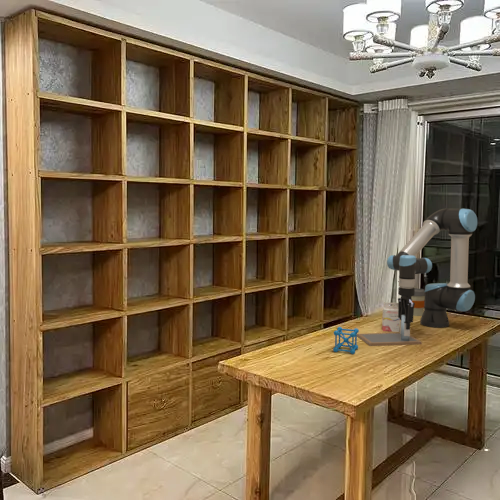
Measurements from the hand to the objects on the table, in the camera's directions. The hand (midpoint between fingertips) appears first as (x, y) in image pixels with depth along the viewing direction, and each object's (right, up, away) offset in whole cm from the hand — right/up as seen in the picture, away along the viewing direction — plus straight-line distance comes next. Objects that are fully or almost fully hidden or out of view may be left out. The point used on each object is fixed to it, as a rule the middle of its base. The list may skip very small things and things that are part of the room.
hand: (404, 334), depth 258 cm
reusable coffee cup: (+24, +2, +62) cm, 67 cm away
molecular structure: (-32, -5, -15) cm, 36 cm away
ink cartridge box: (-1, -2, +22) cm, 23 cm away
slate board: (-7, -3, +3) cm, 9 cm away
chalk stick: (0, -2, 0) cm, 2 cm away
